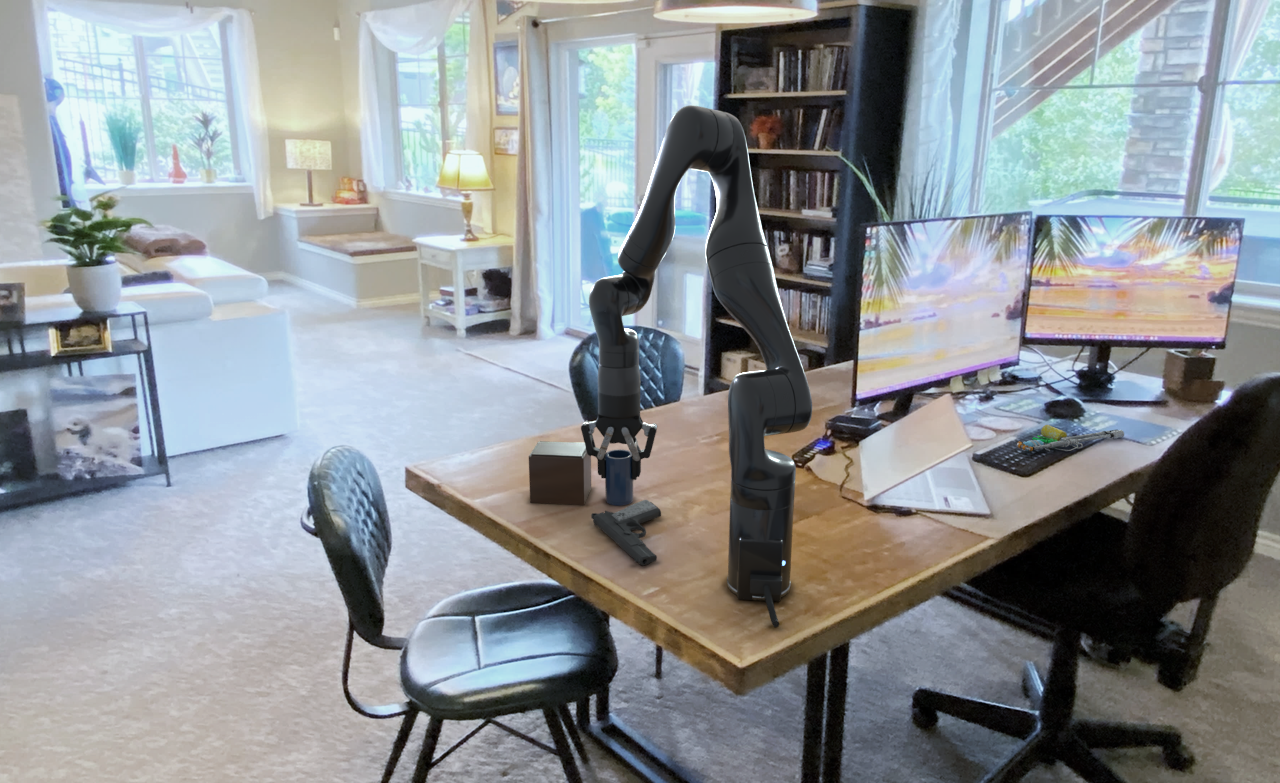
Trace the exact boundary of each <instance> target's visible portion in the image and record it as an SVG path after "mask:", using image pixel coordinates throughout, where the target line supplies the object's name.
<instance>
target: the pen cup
mask: <svg viewBox="0 0 1280 783" xmlns="http://www.w3.org/2000/svg"><path fill="white" fill-rule="evenodd" d="M632 460H633V456H632V454H631V451H630V450H629V449H621V448H620V449H618V448H617V449H611V450H608V451H606V453H605V478H604V481H605V484H604V487H605V489H604V490H605V502H606V503H607V504H608V505H611V506H617V507H618V506H619V507H622V506H627V505H630V504H632V503H633V502H634V480H632Z"/></svg>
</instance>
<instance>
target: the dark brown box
mask: <svg viewBox="0 0 1280 783" xmlns="http://www.w3.org/2000/svg"><path fill="white" fill-rule="evenodd" d="M528 476H529V477H528V478H529V479H528V480H529V481H528V482H529V503H532V504H533V503H534V504H551V505H575V506H585V504H586V502H587V499H588V497H589V496H590V492H591V490H592V456H589V455H588V454H587V450H586V446H585V443H584V442H575V441H574V442H573V441H548V440H547V441H546V440H539V441H537V443H536V445H534V447H533V449H532V450H531V452H530V454H529V455H528Z"/></svg>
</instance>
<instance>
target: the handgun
mask: <svg viewBox="0 0 1280 783" xmlns="http://www.w3.org/2000/svg"><path fill="white" fill-rule="evenodd" d="M590 516H591V517H590V518H591V519H592V522H593V524H594V526H596V527H598V528H599V529H600V530H601V531H602V532H603V533H604V534H605V535H607V536H608V537H609V538H610V539H611V540H612V541H613V542H614V543H616V545H618V546H619V547H620V548H621V549H622V550H623V551H624V552H625V553H626V554H628V555H629V557H631V558H632V559H633V560H634V562H635V563H638V565H640V566H646V565H649V564H651V563H655V562H656V561H657V558H658V556H657V555H656V554H655V553H654V552H653V551H652V550H650V549H649V548H648V547H647V545H646V543H644V542H643V541H642V538H644V537H645V536H646V534H647V530H646V528H645V527H644V526H643V525H642V524H643V523H646V522H649V521H651V520H652V521H653V520H654V519H657V518H660V517H661V516H662V511H661V509H660V508H659V507H658V506H657V505H656V504H654V503H653V502H652V501H650V500H648V499H643V500H641V501H638V502H635V503H633V504H631V505H630V504H629V505H628V506H626V507H625V508H622V509H620V510H618V511H616V512H612V511H608V510H604V512H599V513H597V512H592V513H591V515H590ZM633 531H641V532H633Z"/></svg>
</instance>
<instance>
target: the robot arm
mask: <svg viewBox="0 0 1280 783" xmlns="http://www.w3.org/2000/svg"><path fill="white" fill-rule="evenodd" d="M689 170H693V171H701V172H705V173H708V174H709V176H710V178H711V181H712V184H713V187H714V192H715V198H716V212H715V215H714V219H713V221H712V223H711V225H710V226H711V227H710V229H709V232H708V235H707V238H706V242H705V260H706V264H707V268H708V273H709V278H710V282H711V286H712V290H713V292H714V295H715V297H716V298H717V301H719V303H720V304H721V305H722V307H723V308H724V309H725V310H726V311H727V313H728V314H729V315H730V316H731V317H732V319H734V320H735V321H736V322H737V323H738V324H739V325H740V326H741V327H742V328H743V330H744V331H745V332H746V333H747V334H748V335H749V337H751V339H752V340H753V342H754V343H755V345H756V346H757V348H758V350H759V352H760V355H761V357H762V360H763V362H764V365H765V368H766V369H764V370H755V371H754V370H753V371H745V372H742V373H738V374H736V375H735V376H734V377H733V379H732V380H731V382H730V385H729V387H728V388H729V389H728V396H727V420H728V421H727V422H728V424H727V425H728V455H729V462H730V493H729V494H730V497H729V521H728V522H729V523H728V525H729V526H728V553H727V554H728V557H727V564H728V565H727V577H726V586H727V589H728V590H729V591H730V592H731V593H733V594H734V595H736V598H737V600H744V601H745V600H746V601H759V602H760V601H761V602H765V604H766V607H767V611H768V615H769V618H770V622H771V625H772V626H773V627H774V628H778V627H779V626H780V622H779V619H778V616H777V611H776V608H775V605H774V602H777V603H778V602H779V603H780V602H781V598H783V597H785V596H787V595H788V594H789V592H790V591H791V586H792V584H791V582H792V581H791V570H792V569H791V568H792V549H793V548H792V547H793V532H794V531H793V530H794V529H793V528H794V513H795V512H794V511H795V510H794V509H795V494H796V478H797V476H796V475H797V467H796V463H795V461H794V459H793V458H791V457H790V456H788V455H786V454H785V453H781V452H779V451H776V450H772V449H767V448H766V447H765V445H766V444H765V437H769V436H775V435H784V434H791V433H796V432H801V431H803V430H805V429H806V428H807V427H808V426H809V424H810V422H811V421H812V416H813V400H812V393H811V388H810V384H809V382H808V377H807V375H806V372H805V370H804V367H803V364H802V361H801V359H800V358H801V357H800V355H799V353H798V350H797V348H796V344H795V342H794V339H793V337H792V333H791V330H790V327H789V325H788V321H787V318H786V314H785V311H784V307H783V304H782V303H783V302H782V300H781V296H780V292H779V288H778V283H777V280H776V275H775V270H774V266H773V262H772V257H771V254H770V250H769V247H768V243H767V240H766V237H765V233H764V230H763V225H762V221H761V217H760V213H759V207H758V203H757V199H756V195H755V189H754V184H753V177H752V171H751V170H752V169H751V164H750V156H749V149H748V143H747V139H746V135H745V131H744V128H743V126H742V123H741V122H740V120H739V119H738V118H737V117H736V116H735V115H733V114H731V113H729V112H726V111H722V110H716V109H713V108H709V107H704V106H698V105H693V104H692V105H690V104H689V105H686V106H683V107H681V108H679V110H677V111H676V113H675V114H674V115H673V117H672V118H671V120H670V121H669V123H668V126H667V128H666V130H665V133H664V136H663V138H662V141H661V145H660V148H659V150H658V153H657V156H656V159H655V162H654V165H653V168H652V172H651V175H650V178H649V181H648V184H647V188H646V191H645V193H644V196H643V200H642V203H641V205H640V208H639V210H638V213H637V215H636V217H635V219H634V222H632V225H631V227H630V228H629V231H628V233H627V235H626V236H625V239H624V240H623V242H622V244H621V246H620V249H619V251H618V254H617V263H618V265H619V267H620V268H621V269H622V272H621V274H618V275H611V276H605V277H602V278H600V279H597V280H596V281H595V282H594V283H593V285H592V286H591V288H590V291H589V295H588V308H589V311H590V316H591V319H592V322H593V326H594V330H595V333H596V337H597V341H598V370H597V418H596V420H593V421H588V420H584V421H583V423H581V426H580V430H581V435H582V438H583V441H584V442H583V443H585V446H586V450H587V454H588V455H589V456H591V457H594V458H596V461H597V474H598V476H600V479H605V454H606V452H607V450H608V448H609V445H610V444H611V445H613V444H615V445H616V444H621V445H626V446H627V447H628V451H631V454H632V456H633V460H632V480H633V481H636V480H637V479H638V478H640V475H641V472H642V460H643V459H649V458H650V456H651V454H652V451H653V450H652V449H653V446H654V442H655V438H656V434H657V430H658V424H657V423H651V424H650V423H647V422H644V420H643V419H642V417H641V416H642V415H641V387H642V381H641V370H640V340H639V336H638V334H637V332H636V331H635V330H633V329H631V328H625V325H624V322H623V317H625V316H629V315H633V314H636V313H638V312H640V311H641V310H642V309H643V308H644V307H645V306H646V304H647V303H648V302H649V299H650V297H651V294H652V290H653V287H654V282H655V279H656V273H657V269H658V268H659V266H660V264H661V263H662V261H663V259H664V258H665V256H666V254H667V252H668V250H669V248H670V246H671V244H672V242H673V239H674V236H675V232H676V207H675V206H676V205H675V202H676V201H675V200H676V194H677V190H678V187H679V185H680V183H681V181H682V180H683V179H684V176H685V175H686V173H687V172H688V171H689ZM595 429H597V430H598V431H599V433H600V435H601V436H602V437H603V439H602V442H601V443H600V447H596V443H595V438H594V435H593V434H594V432H595ZM641 430H643V434H644V436H645V437H647V438H646V442H645V446H644V448H643V449H641V448H640V446H639V441H638V438H637V435H638V434H639V433H640V431H641Z"/></svg>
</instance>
